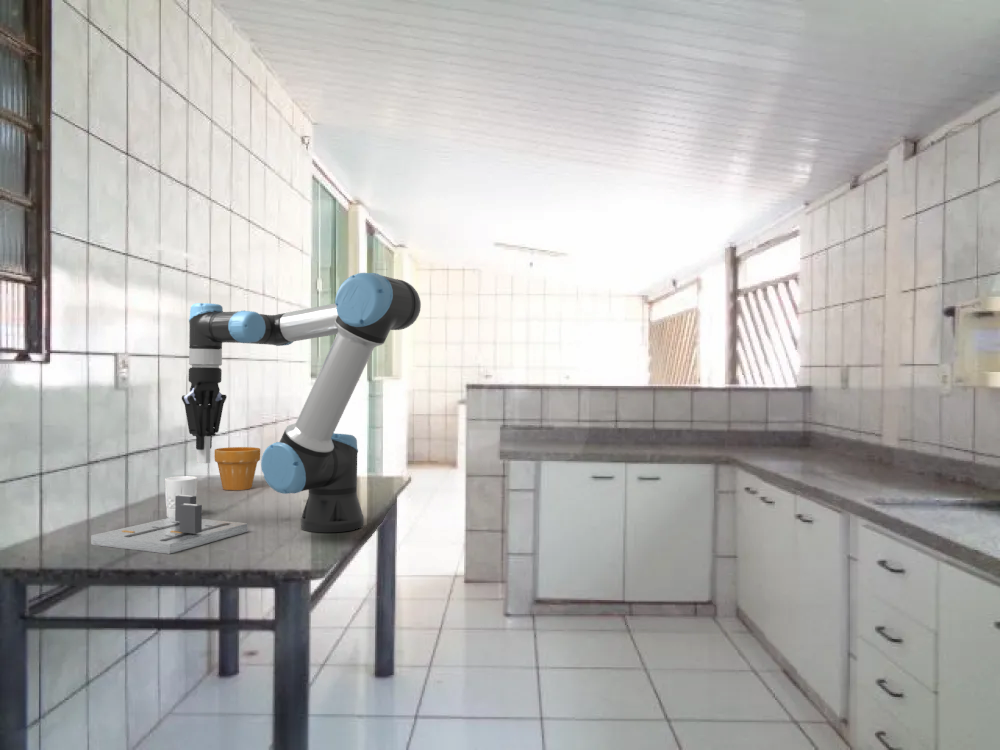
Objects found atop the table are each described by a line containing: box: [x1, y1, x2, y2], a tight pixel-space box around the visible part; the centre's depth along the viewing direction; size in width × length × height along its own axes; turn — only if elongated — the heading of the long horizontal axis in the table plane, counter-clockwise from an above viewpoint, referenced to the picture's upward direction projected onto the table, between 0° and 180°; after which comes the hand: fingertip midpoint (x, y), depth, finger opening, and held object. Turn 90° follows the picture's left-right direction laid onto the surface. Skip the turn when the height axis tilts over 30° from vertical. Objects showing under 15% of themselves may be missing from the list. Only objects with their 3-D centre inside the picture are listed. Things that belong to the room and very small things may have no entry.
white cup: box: [164, 475, 198, 518], centre depth 195 cm, size 8×8×10 cm
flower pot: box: [214, 446, 261, 491], centre depth 243 cm, size 14×14×13 cm
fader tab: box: [175, 495, 197, 522], centre depth 177 cm, size 4×2×6 cm, turn 69°
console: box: [90, 517, 249, 555], centre depth 169 cm, size 22×24×2 cm
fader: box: [179, 503, 203, 534], centre depth 165 cm, size 4×2×6 cm, turn 69°
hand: (203, 462), depth 182 cm, fingers closed
